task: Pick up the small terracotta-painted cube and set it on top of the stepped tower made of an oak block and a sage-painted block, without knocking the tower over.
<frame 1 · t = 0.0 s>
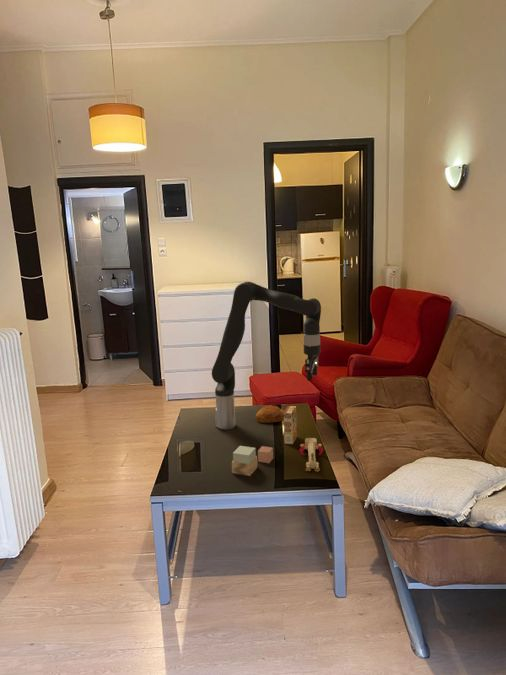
hand: (312, 377, 225), 29 cm above the table, fingers open, 8 cm apart
oak block: (245, 470, 203), on the table
sage block: (244, 459, 201), point 5 cm above the table
terracotta cube: (265, 460, 211), on the table
beige elongated piece: (311, 458, 211), on the table
bread roll: (270, 419, 256), on the table
candy box: (290, 440, 229), on the table
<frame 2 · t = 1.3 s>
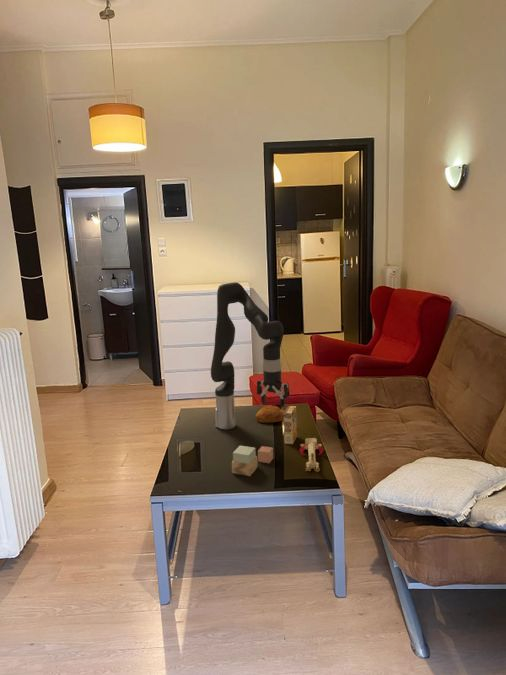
hand: (273, 405, 209), 23 cm above the table, fingers open, 8 cm apart
oak block: (245, 470, 203), on the table, touching sage block
sage block: (244, 459, 202), point 5 cm above the table, touching oak block
everything else where it was.
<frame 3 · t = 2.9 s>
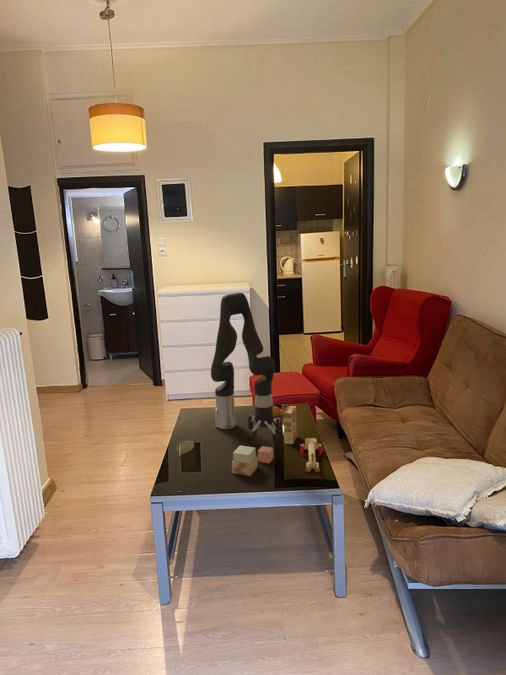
hand: (265, 440, 208), 9 cm above the table, fingers open, 8 cm apart
nothing on the table moved.
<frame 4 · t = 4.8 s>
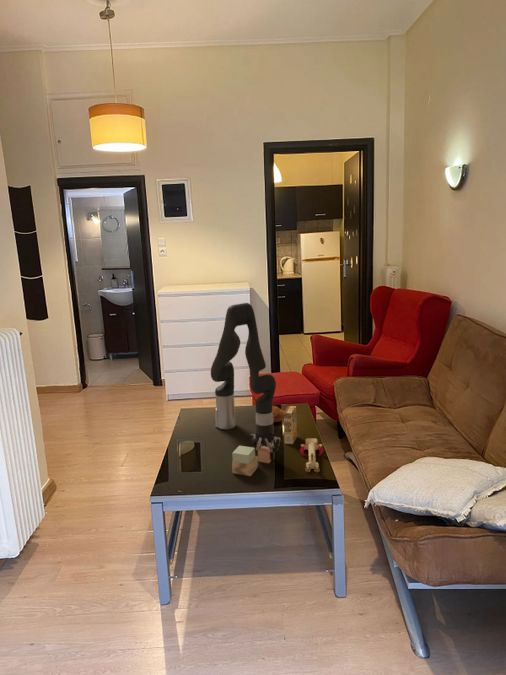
hand: (265, 458, 211), 1 cm above the table, fingers closed on terracotta cube, 5 cm apart
terracotta cube: (265, 459, 211), on the table, touching gripper
everything else where it was.
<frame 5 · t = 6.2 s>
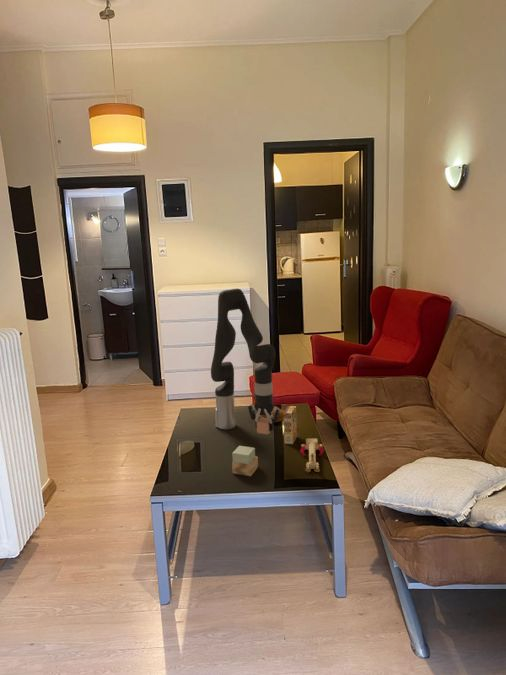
hand: (264, 429, 208), 14 cm above the table, fingers closed on terracotta cube, 5 cm apart
terracotta cube: (264, 431, 208), point 13 cm above the table, touching gripper
everything else where it was.
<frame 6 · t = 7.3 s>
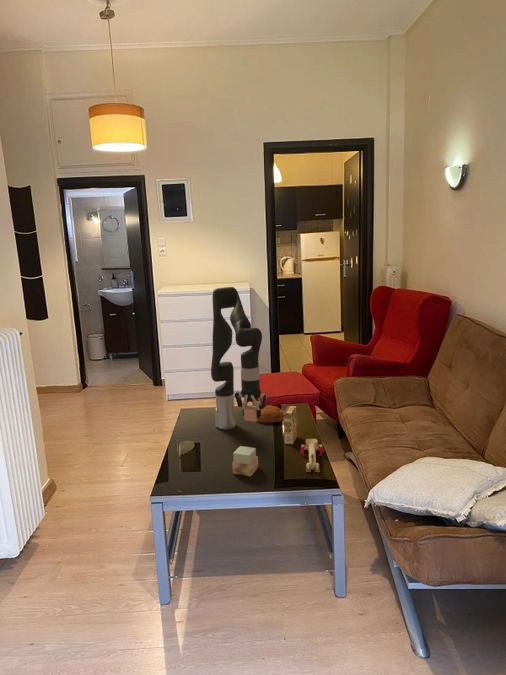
hand: (252, 417, 201), 22 cm above the table, fingers closed on terracotta cube, 5 cm apart
terracotta cube: (252, 418, 201), point 21 cm above the table, touching gripper
everything else where it was.
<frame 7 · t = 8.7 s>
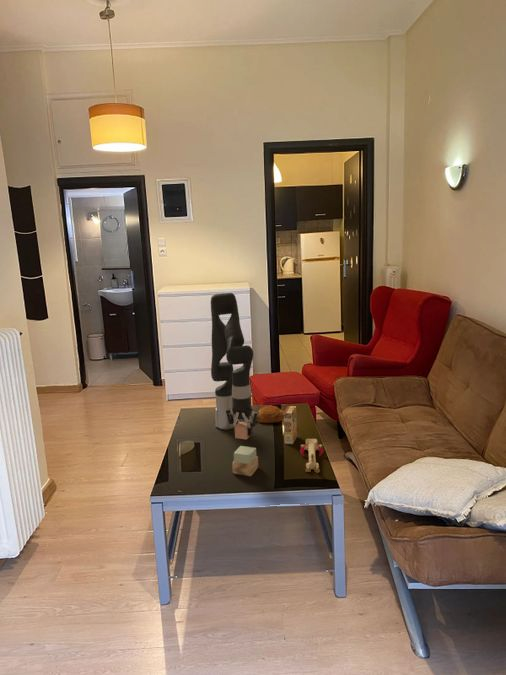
hand: (243, 434, 199), 16 cm above the table, fingers closed on terracotta cube, 5 cm apart
terracotta cube: (243, 436, 199), point 15 cm above the table, touching gripper
everything else where it was.
when the fingers open (11 cm above the table, at t = 10.5 s): terracotta cube drops 1 cm, resting on sage block.
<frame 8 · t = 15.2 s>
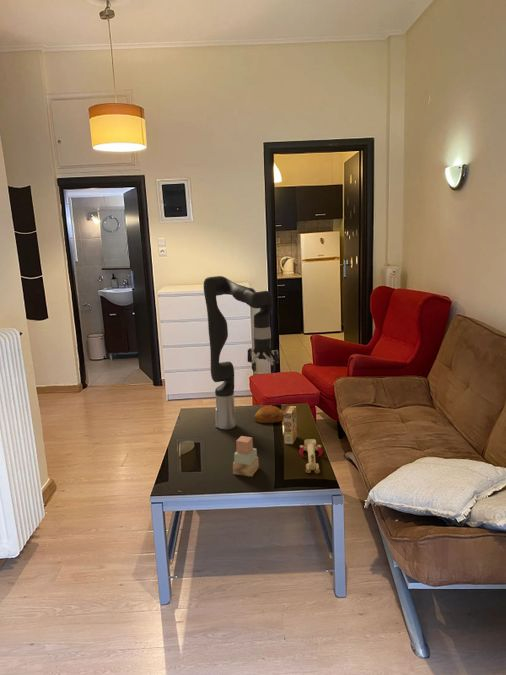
hand: (263, 371, 220), 34 cm above the table, fingers open, 8 cm apart
sage block: (245, 460, 201), point 5 cm above the table, touching oak block, terracotta cube
terracotta cube: (244, 450, 201), point 9 cm above the table, touching sage block
at the end: terracotta cube inside the target area on the sage block (0.7 cm from its centre), point 4.0 cm above the sage block's base; sage block tilted 0°; oak block moved 0.8 cm from its start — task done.
